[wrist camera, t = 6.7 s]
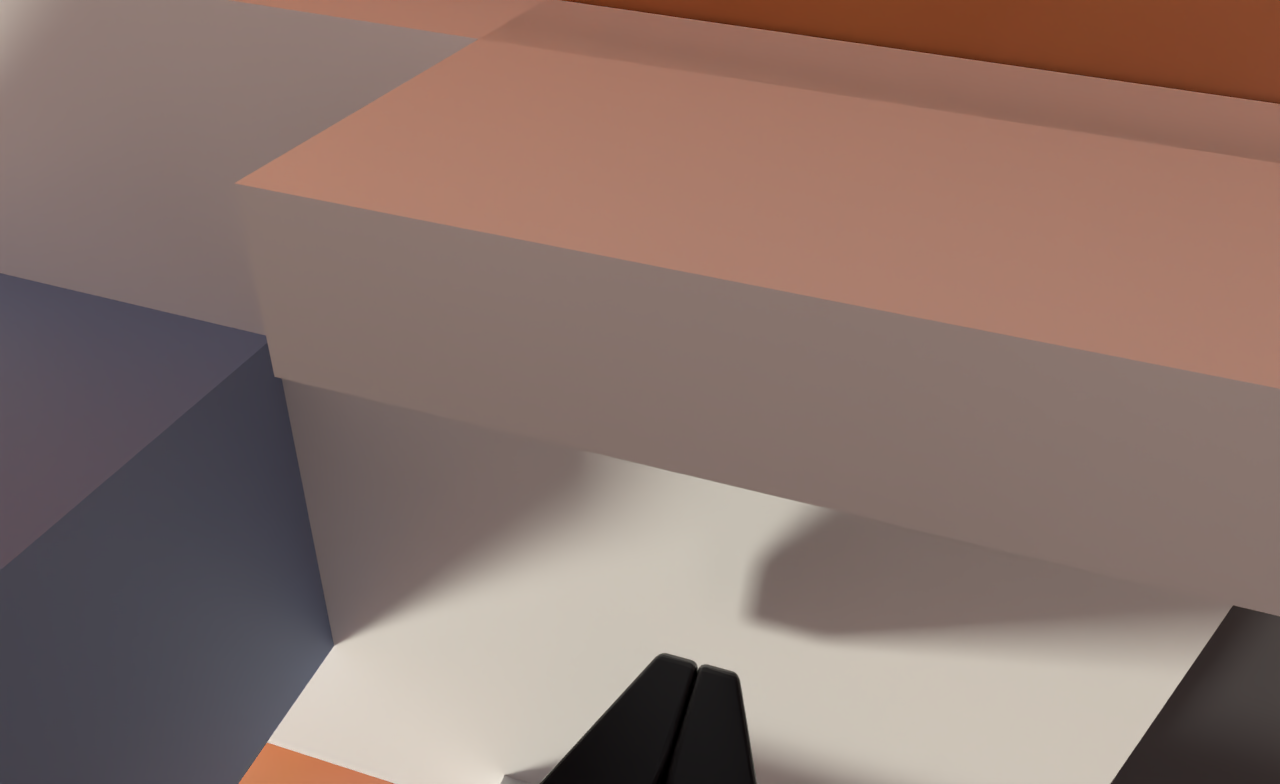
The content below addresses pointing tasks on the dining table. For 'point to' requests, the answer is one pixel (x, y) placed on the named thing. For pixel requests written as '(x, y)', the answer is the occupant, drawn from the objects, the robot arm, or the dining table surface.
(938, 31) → the dining table surface
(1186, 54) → the dining table surface
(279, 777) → the dining table surface
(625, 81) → the trap channel
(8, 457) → the blue-gray block
